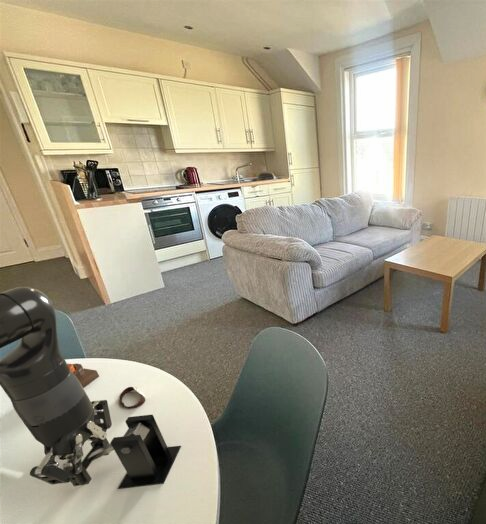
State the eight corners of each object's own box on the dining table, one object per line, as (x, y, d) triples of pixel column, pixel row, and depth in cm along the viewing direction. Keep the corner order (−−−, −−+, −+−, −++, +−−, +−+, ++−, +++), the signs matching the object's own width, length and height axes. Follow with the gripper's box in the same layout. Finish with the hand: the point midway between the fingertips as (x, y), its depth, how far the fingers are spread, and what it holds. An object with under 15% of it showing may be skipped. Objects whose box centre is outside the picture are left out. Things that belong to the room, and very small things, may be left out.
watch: (152, 401, 70) (147, 391, 69) (130, 416, 67) (125, 405, 65) (137, 389, 74) (132, 378, 73) (116, 402, 71) (111, 391, 69)
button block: (43, 391, 75) (35, 380, 74) (71, 371, 81) (65, 361, 80) (72, 396, 73) (65, 385, 71) (99, 376, 79) (93, 365, 78)
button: (53, 377, 74) (50, 372, 74) (68, 367, 78) (65, 362, 77) (64, 379, 74) (61, 374, 73) (78, 369, 77) (76, 364, 76)
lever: (82, 476, 51) (71, 469, 50) (100, 451, 55) (90, 444, 55) (139, 447, 50) (128, 439, 49) (153, 424, 54) (144, 416, 53)
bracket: (120, 492, 52) (94, 449, 47) (142, 453, 58) (121, 413, 54) (165, 486, 53) (144, 444, 48) (182, 449, 59) (165, 408, 54)
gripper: (66, 372, 53) (101, 434, 60) (-18, 447, 40) (39, 515, 47) (107, 368, 54) (138, 430, 61) (38, 441, 41) (87, 510, 48)
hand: (94, 467), depth 54 cm, fingers closed on lever, 4 cm apart
